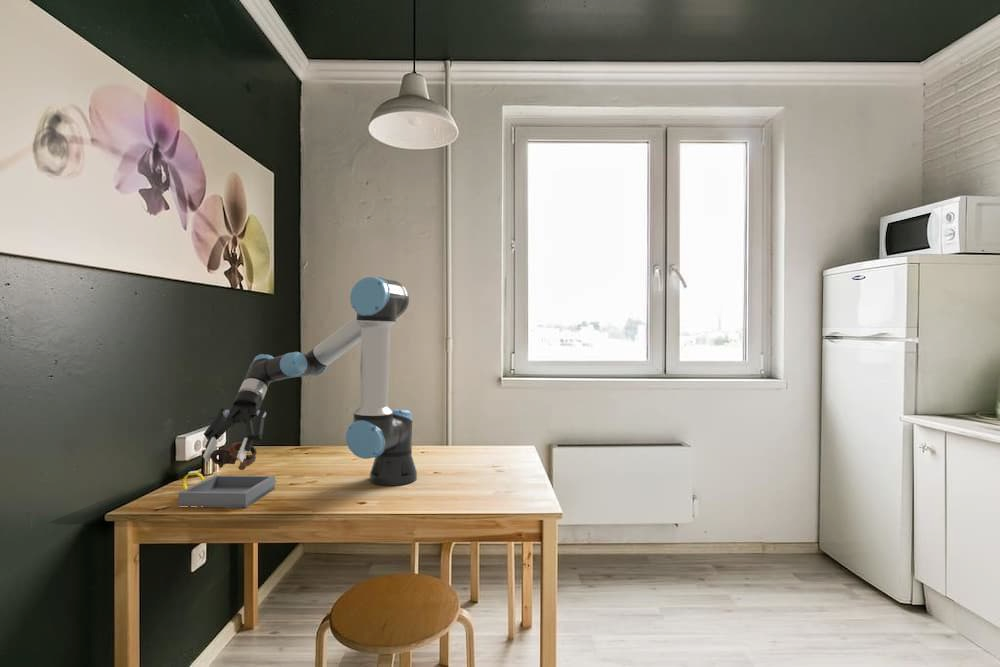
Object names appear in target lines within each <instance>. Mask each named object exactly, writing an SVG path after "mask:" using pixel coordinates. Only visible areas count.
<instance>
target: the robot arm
mask: <svg viewBox="0 0 1000 667" xmlns="http://www.w3.org/2000/svg"><path fill="white" fill-rule="evenodd" d="M409 296H410V295H409V292H408V290H407V288H406V287H405V286H404V285H403V284H402V283H401V282H398V281H396V280H392V279H391V280H390V279H387V278H383V277H381V276H380V277H379V276H366V277H364V278H361V279H360V280H358V281H357V282H356V283H355V284H354V285H353V286H352V288H351V291H350V296H349V300H350V305H351V308H352V309H353V310H354V312H355V313H356V316H353V318H351V319H350V320H349V321H347V322H346V323H345V324H344V325H342V326H341V327H340V328H338V329H337V330H335V331H334V332H332V333H331V335H328V337H327V338H325V339H324V340H323V341H321V342H320V343H318V344H317V345H316V346H315V347H313V348H312V349H311V350H309V351H308V352H306V353H301V352H299V351H294V352H288V353H285V354H282V355H279V356H275V357H274V356H272V355H271V354H270V355H269V354H263V353H260V354H258V355H256V356H255V357H254V358H253V361H252V362H251V363H250V365H249V368H248V371H247V373H246V374H245V377H244V379H243V381H242V383H241V386H240V388H239V389H238V393H236V396H235V398H234V400H233V405H232V407H231V408H229V409H224V408H220V409H219V411H218V414H217V415H216V417H215V418H214V420H213V421H212V422H211V424H209V426H208V427H207V429H206V430H205V431H204V433H203V435H204V437H205V438H206V441H207V442H206V444H205V445H204V448H205V451H204V453H203V456H202V458H203V459H204V460H205V461H206V463H209V462H210V461H211V460H212V459H211V454H212V453H213V452H214V451H215V450H216V447H217V445H218V444H219V442H218V440H219V439H220V437H222V436H223V435H224V434H225V433H226V432H227V431H228V430H229V429H230V428H232V427H233V426H235V425H236V424H239V423H240V424H241V423H242V424H245V427H246V433H247V437H244V439H243V441H242V442H241V443H242V445H241V447H239V449H238V455H237V459H238V460H237V461H238V462H239V463H240V462H243V460H244V458H246V455H247V452H251V451H250V449H251V447H252V446H253V445H254V442H256V441H258V442H260V441H261V440H262V439H263V432H264V424H265V420H266V418H267V417H268V415H267V412H266V410H265V409H264V408H262V409H260V408H261V405H262V403H263V400H264V399H265V396H266V393H267V391H268V389H269V386H270V384H271V383H274V382H277V381H282V380H286V379H291V378H298V377H299V378H300V377H307V376H318V375H321V374H323V373H325V372H326V371H327V369H328V368H329V365H330V364H331V363H333V362H334V361H336V360H337V359H338V358H340V357H341V356H343V354H345V353H347V352H348V351H349V350H350V349H352V348H353V347H354V346H356V345H357V344H359V343H360V366H359V367H360V368H359V369H360V370H359V371H360V372H359V397H358V398H359V401H358V407H357V408H356V409H355V410H354V411H353V419H352V420H353V422H352V423H351V424H350V426H349V427H348V428H347V430H346V432H345V441H346V446H347V447H348V449H349V451H351V452H352V454H353V455H354V456H356V457H357V458H361V459H365V460H368V459H373V458H374V461H373V463H372V466H371V470H370V473H369V481H370V482H371V483H372V484H375V485H379V486H400V485H408V484H410V483H413V482H415V481H416V480H417V479H418V474H417V473H418V472H417V468H416V465H415V462H414V459H413V456H412V451H413V450H412V448H413V445H412V444H413V441H412V440H413V414H412V412H411V410H408V409H395V408H393V409H392V408H390V407H389V385H390V383H389V382H390V354H391V352H390V351H391V349H390V348H391V328H392V327H393V326H394V325H395V324H396V323H397V321H396V320H397V319H398V318H400V316H402V315H403V313H405V312H406V310H407V309H408V306H409V303H410V297H409ZM255 417H257V418H256V423H255V424H256V426H255V432H254V428H253V425H254V424H253V420H252V419H254V418H255Z"/></svg>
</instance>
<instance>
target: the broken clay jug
mask: <svg viewBox="0 0 1000 667" xmlns="http://www.w3.org/2000/svg"><path fill="white" fill-rule="evenodd" d="M242 443H243V442H241V441H238V442H233V443H232V444H231V445H230V446H228V447H227V448H225V449H220V448H219V449H215V450H214V452H213V453H212V454H211V459H210V460H211V462H213V463H214V464H215V465H218V468H219V469H221V468H223V467H224V466H225V465H235V464H236V462H237V461H239V460H238V459H237V455H238V452H239V450H240V448H241V445H242ZM249 452H250V453H251V454H246V455H245V457H244V460H243V462H239V465H238V468H237V469H238V470H239V471H240V470H241V471H244V470H245V469H246V468H247V467H249V466H251V465H252V464H253V463H254V462H256V458H257V456H256V455H257V450H256V448H255V447H254V446H253V445H252V447H251V449H250V451H249ZM218 456H220V457H219V458H217V457H218Z"/></svg>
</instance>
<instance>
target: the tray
mask: <svg viewBox="0 0 1000 667" xmlns="http://www.w3.org/2000/svg"><path fill="white" fill-rule="evenodd" d="M275 489H276V475H235V474H234V475H233V474H231V475H229V474H228V475H227V474H226V475H224V474H223V475H218V474H214V475H213V476H211V477H209V478H207V479H205V480H204V481H202V480H201V481H200V482H198V483H196V484H194V485H192V486H190V487H188V488H187V489H183V490H181V491H179V492H178V500H177V501H178V503H177V504H178V505H177V506H188V507H191V506H197V507H201V506H203V507H216V508H215V509H246V508H248V507H249V506H251V505H253V504H254V503H256V502H257V501H259V500H260V499H262V498H263V497H265V496H266V494H267V495H268V494H270V493H271V492H272V490H273V491H274V490H275ZM269 492H270V493H269ZM219 507H220V508H219Z"/></svg>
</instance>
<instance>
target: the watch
mask: <svg viewBox="0 0 1000 667" xmlns="http://www.w3.org/2000/svg"><path fill="white" fill-rule="evenodd" d="M195 475H196V476H197V477H199V478H200V480H201V482H202V481H204V480H206V479H205V477H204V476H203V474H202V473H200V471H199V470H191V471H189V472H188V473H187V474H186V475H185V476H184V477H183V479H182V487H183V490H185V489H187V488H189V487H188V485H187V479H188V477H189V476H195Z"/></svg>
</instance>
